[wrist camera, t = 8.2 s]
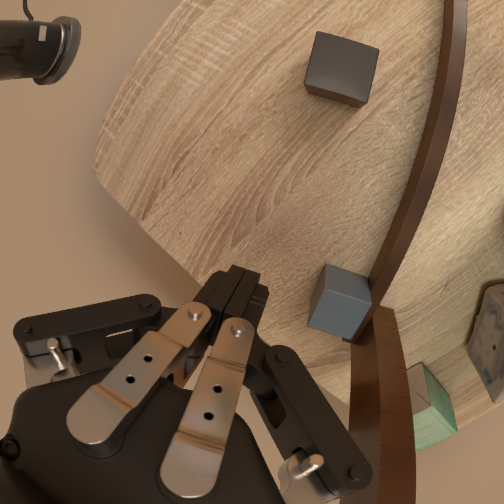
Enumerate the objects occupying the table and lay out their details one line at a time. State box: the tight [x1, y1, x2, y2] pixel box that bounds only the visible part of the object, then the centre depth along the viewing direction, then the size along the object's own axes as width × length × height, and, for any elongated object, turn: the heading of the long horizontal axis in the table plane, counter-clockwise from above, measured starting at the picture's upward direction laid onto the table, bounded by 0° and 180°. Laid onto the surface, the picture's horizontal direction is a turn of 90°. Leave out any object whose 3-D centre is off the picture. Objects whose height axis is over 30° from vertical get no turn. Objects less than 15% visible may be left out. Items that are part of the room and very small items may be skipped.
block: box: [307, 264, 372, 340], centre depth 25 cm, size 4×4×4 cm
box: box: [406, 363, 457, 451], centre depth 27 cm, size 7×14×8 cm, turn 49°
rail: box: [342, 0, 467, 344], centre depth 16 cm, size 48×2×2 cm, turn 167°
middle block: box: [304, 31, 379, 108], centre depth 16 cm, size 4×4×4 cm
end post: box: [339, 305, 416, 504], centre depth 16 cm, size 5×3×26 cm, turn 167°
